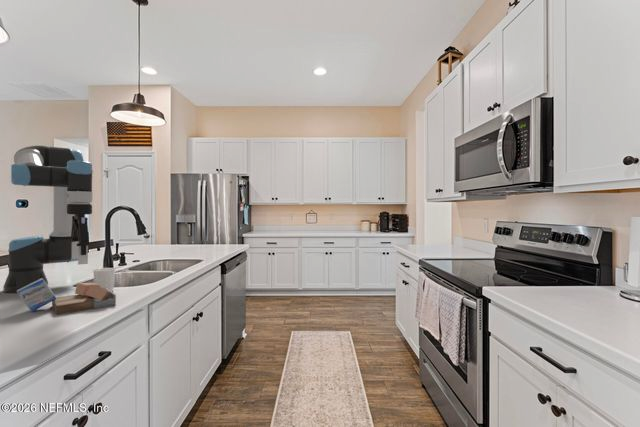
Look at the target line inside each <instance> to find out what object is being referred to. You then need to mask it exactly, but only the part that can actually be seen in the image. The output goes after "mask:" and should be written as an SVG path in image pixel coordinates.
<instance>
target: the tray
mask: <svg viewBox="0 0 640 427" xmlns="http://www.w3.org/2000/svg"><path fill="white" fill-rule="evenodd" d="M105 289H106V290H108V291H110V290H109V289H107V288H105ZM110 292H111V293H110V295H109V296H108V298H107V299H106V300H97V299H95V298H92V297H90V298H92V299H93V309H100V308H107V307H111V306H116V303H117V302H116V301H117V297H116V296H117V295H116V293H114V291H113V292H112V291H110Z"/></svg>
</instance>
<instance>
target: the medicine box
mask: <svg viewBox="0 0 640 427" xmlns="http://www.w3.org/2000/svg"><path fill="white" fill-rule="evenodd" d="M16 293H17V294H18V296H19V297H20V298H21V300H22V301H23V303H24V304H25V305H26V308H28V310H29V311H30V312H35V311H36V310H39V309H41V308H42V307H45V306H46V305H47V304H49V303H52V301H53V300H55V299H56V298H57V297H56V295H55V293H54V292H53V291H52V289H51V288H50V286H49V284H48V285H47V283H46V282H45V281H44V279H43V278H41V279H39V280H37V281H35V282H33V283H31V284H29V285H27V286H25V287H23V288H20V289H18V290H17V292H16Z"/></svg>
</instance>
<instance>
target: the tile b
mask: <svg viewBox="0 0 640 427" xmlns="http://www.w3.org/2000/svg"><path fill="white" fill-rule="evenodd" d="M110 293H111V292H110V291H108V290H106V289H103V288H101V287H98V286H95V285H91V286H90V288H89V289H88V291H87V292H86V294H85V295H87V296H89V297H92V298H95V299H97V300H106V299H107V298H108V296H109V295H110Z"/></svg>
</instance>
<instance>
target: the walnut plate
mask: <svg viewBox="0 0 640 427" xmlns="http://www.w3.org/2000/svg"><path fill="white" fill-rule="evenodd" d="M51 306H52V309H53V311H54V312H55V314H56V315H63V314H64V315H65V314H69V313H74V312H81V311H85V310H92V309H93V299H92V298H90V297H89V296H87V295H86V296H82V295H79V294H72V295H66V296H59V297H56V299H55V300H53V301H51Z"/></svg>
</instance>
